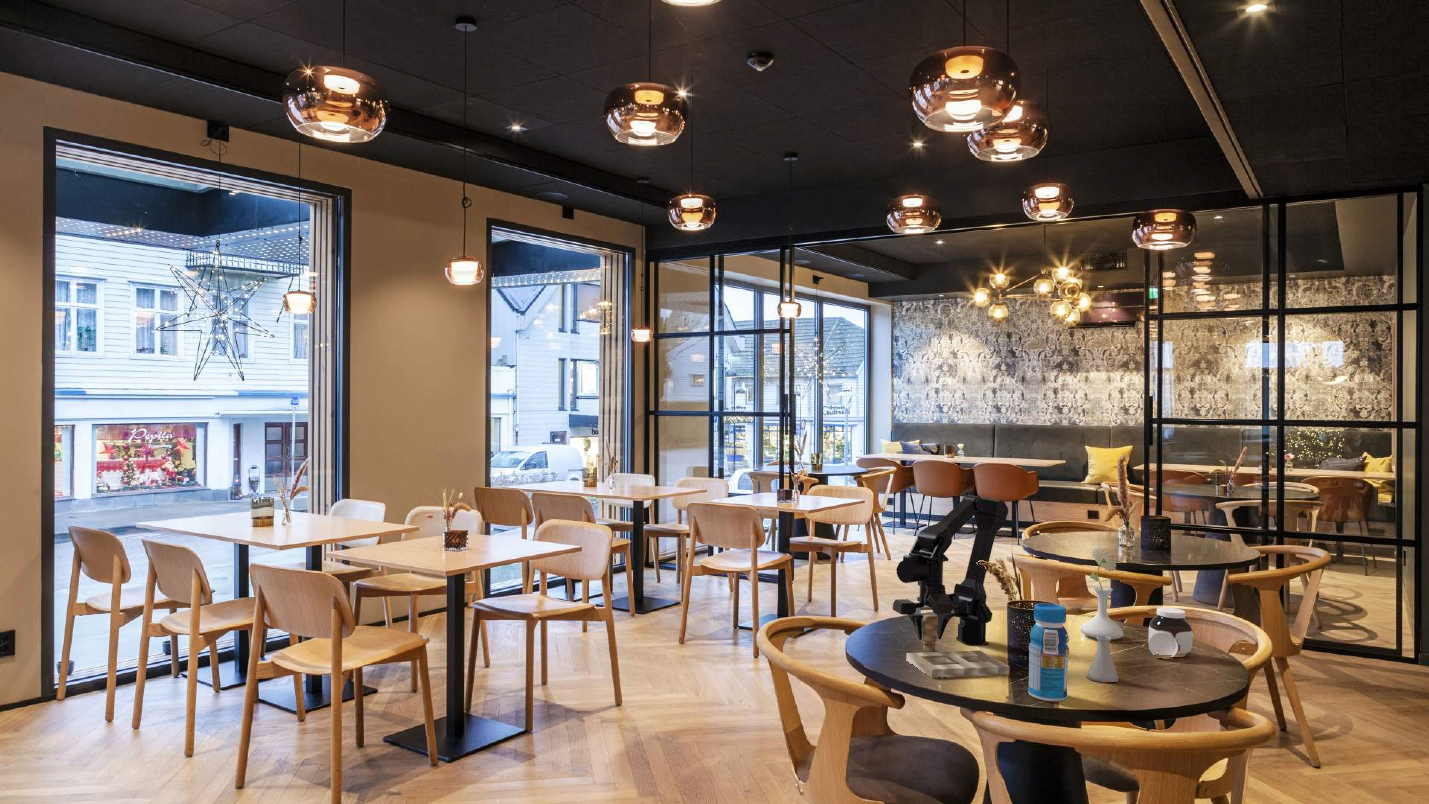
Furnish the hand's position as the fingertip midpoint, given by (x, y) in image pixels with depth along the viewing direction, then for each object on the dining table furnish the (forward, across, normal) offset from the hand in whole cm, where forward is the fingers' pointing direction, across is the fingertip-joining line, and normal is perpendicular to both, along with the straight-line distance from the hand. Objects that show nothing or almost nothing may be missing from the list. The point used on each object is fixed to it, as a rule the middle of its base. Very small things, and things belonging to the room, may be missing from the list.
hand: (929, 639), depth 241 cm
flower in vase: (+3, +56, +8) cm, 57 cm away
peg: (+3, 0, 0) cm, 3 cm away
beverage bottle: (+3, +10, -38) cm, 39 cm away
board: (+3, 0, -15) cm, 15 cm away
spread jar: (+3, +62, -12) cm, 63 cm away
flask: (+3, +31, -28) cm, 42 cm away
